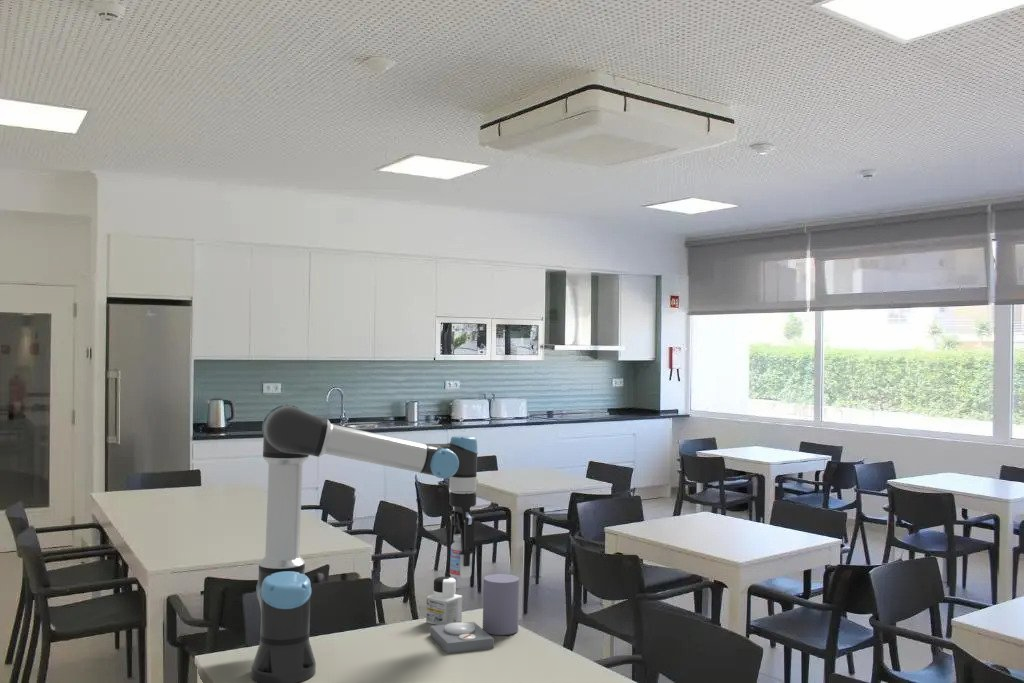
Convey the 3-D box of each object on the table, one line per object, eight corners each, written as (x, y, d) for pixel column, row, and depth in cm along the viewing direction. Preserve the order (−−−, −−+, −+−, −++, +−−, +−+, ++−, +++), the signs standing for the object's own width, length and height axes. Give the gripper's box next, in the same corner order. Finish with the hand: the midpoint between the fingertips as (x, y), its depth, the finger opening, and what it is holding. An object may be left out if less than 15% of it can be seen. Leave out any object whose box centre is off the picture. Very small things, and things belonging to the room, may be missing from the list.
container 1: (425, 622, 251) (426, 578, 252) (442, 616, 258) (443, 573, 258) (445, 627, 247) (446, 582, 247) (462, 621, 253) (463, 577, 254)
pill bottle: (446, 576, 235) (447, 536, 235) (455, 572, 240) (456, 532, 241) (466, 579, 232) (467, 538, 233) (475, 574, 238) (476, 534, 238)
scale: (447, 653, 225) (447, 639, 225) (430, 635, 239) (430, 622, 240) (493, 648, 229) (493, 634, 230) (473, 630, 244) (473, 618, 244)
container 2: (490, 623, 252) (491, 572, 252) (523, 628, 248) (524, 576, 249) (476, 633, 242) (478, 580, 243) (510, 638, 239) (511, 584, 239)
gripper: (487, 495, 230) (485, 582, 229) (464, 486, 247) (462, 566, 247) (461, 496, 227) (459, 584, 226) (439, 487, 245) (438, 568, 244)
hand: (461, 574), depth 236 cm, fingers closed on pill bottle, 6 cm apart
